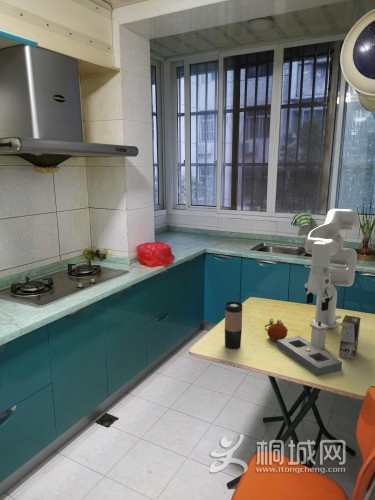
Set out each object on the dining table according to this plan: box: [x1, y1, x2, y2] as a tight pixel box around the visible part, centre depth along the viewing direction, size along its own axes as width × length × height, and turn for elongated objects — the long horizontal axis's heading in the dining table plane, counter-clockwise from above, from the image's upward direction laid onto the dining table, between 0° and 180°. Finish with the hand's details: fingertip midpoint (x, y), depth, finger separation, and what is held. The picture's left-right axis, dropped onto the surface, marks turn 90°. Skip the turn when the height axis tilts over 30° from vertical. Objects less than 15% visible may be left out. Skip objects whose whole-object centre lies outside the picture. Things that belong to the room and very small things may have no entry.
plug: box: [309, 321, 330, 349], centre depth 165 cm, size 6×6×12 cm
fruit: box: [266, 322, 288, 342], centre depth 172 cm, size 9×9×8 cm
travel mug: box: [224, 301, 243, 350], centre depth 164 cm, size 8×8×20 cm
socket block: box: [276, 335, 343, 377], centre depth 155 cm, size 12×26×4 cm, turn 23°
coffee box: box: [338, 314, 361, 360], centre depth 157 cm, size 9×6×16 cm
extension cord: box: [264, 318, 288, 332], centre depth 186 cm, size 12×16×2 cm
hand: (316, 306), depth 162 cm, fingers open, 9 cm apart
